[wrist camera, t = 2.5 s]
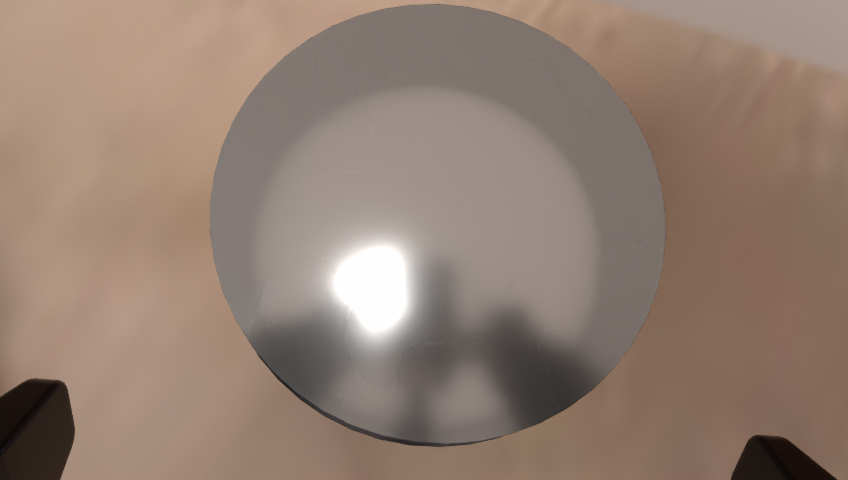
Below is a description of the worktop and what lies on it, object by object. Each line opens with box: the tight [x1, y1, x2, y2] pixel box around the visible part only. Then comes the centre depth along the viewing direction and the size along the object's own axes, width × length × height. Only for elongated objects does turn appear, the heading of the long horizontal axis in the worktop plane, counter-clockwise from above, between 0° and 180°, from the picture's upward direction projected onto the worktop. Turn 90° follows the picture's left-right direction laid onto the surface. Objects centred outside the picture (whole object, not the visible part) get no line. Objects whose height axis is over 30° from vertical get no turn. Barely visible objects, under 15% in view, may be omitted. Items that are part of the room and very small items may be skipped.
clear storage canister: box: [210, 4, 666, 447], centre depth 14 cm, size 5×5×12 cm
